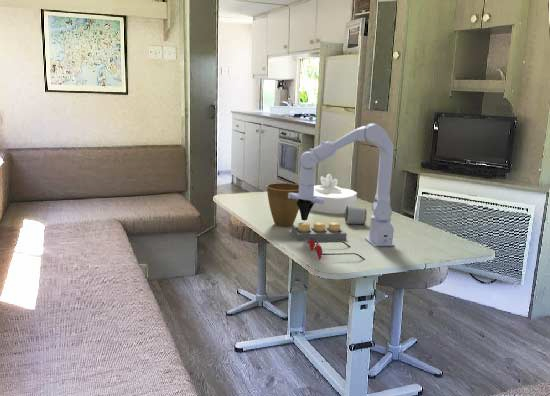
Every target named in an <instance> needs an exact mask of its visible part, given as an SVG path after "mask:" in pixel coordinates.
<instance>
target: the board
mask: <svg viewBox="0 0 550 396" xmlns="http://www.w3.org/2000/svg"><path fill="white" fill-rule="evenodd" d="M328 228H329V226H325V232H314V231H313V226H310V232H298V226H297V227H296V226H295V227H294V226H291V229H289V232H290V233H291V235H293V237H294V238H295V239H296V240H297V241H309V240H310V239H311V240H312V238H313V239H314V240H315V241H339V240H340V241H341V240H346V241H347V235H348V233H347V232H346V231H345V230H343V229H342V228H341V227H340V232H329V231H328ZM311 237H312V238H311Z"/></svg>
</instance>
